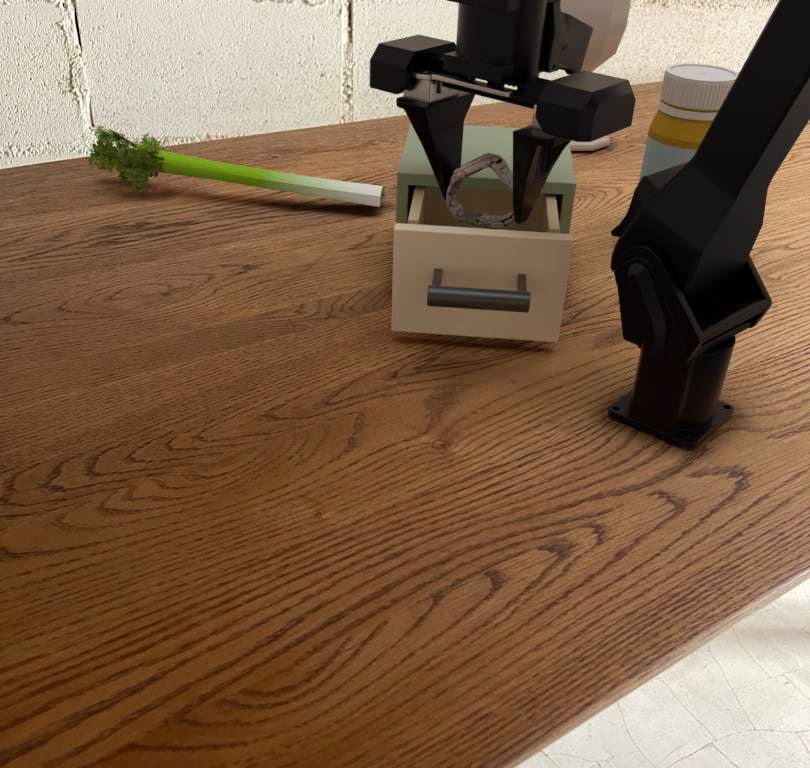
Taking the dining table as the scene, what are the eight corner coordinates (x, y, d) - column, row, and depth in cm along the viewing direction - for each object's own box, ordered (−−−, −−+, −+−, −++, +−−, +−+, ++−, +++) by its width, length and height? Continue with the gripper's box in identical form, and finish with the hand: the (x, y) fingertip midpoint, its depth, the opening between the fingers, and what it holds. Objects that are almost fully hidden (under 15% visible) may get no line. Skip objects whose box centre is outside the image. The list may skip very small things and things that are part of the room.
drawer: (561, 373, 66) (577, 267, 61) (384, 361, 66) (387, 255, 61) (551, 273, 79) (564, 179, 74) (404, 264, 80) (408, 170, 75)
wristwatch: (458, 208, 71) (462, 141, 68) (531, 226, 69) (539, 157, 66) (435, 222, 69) (439, 153, 66) (510, 241, 67) (517, 170, 64)
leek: (374, 241, 90) (76, 190, 92) (384, 224, 96) (105, 177, 98) (381, 175, 87) (73, 123, 88) (392, 162, 93) (102, 114, 94)
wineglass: (521, 135, 113) (543, -70, 100) (582, 128, 116) (611, -71, 103) (560, 156, 107) (589, -58, 94) (622, 149, 110) (659, -60, 97)
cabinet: (559, 303, 77) (576, 183, 71) (393, 292, 78) (396, 172, 71) (552, 239, 88) (567, 130, 81) (407, 230, 88) (410, 121, 82)
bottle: (704, 264, 84) (749, 85, 75) (627, 256, 85) (660, 78, 76) (701, 236, 89) (742, 65, 80) (628, 228, 90) (660, 59, 81)
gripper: (699, -29, 59) (650, 215, 69) (467, -63, 68) (454, 157, 78) (607, -9, 52) (568, 258, 62) (364, -49, 61) (364, 189, 71)
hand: (485, 210), depth 69 cm, fingers closed on wristwatch, 6 cm apart
